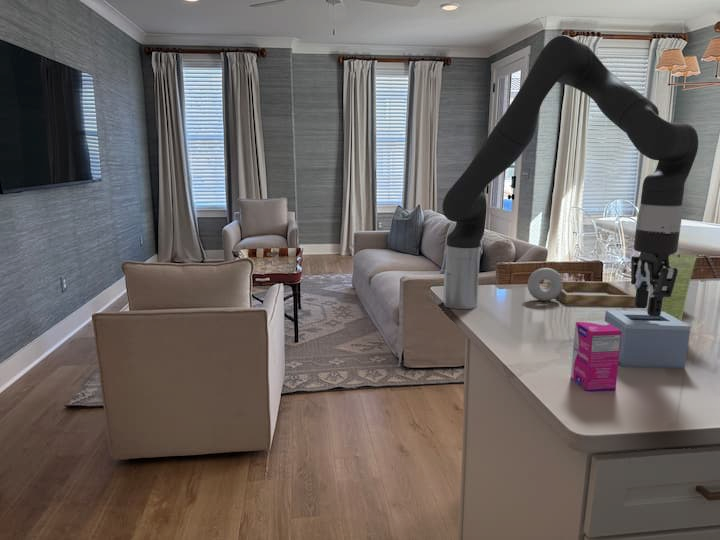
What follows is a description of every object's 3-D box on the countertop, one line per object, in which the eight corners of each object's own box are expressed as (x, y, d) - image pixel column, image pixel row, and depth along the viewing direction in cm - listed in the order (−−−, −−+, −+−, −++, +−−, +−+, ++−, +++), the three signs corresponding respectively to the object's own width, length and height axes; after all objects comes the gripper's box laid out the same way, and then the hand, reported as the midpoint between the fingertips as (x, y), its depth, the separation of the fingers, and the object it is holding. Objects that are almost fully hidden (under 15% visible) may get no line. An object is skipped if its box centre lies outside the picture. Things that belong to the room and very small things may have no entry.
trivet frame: (565, 304, 147) (566, 294, 146) (546, 289, 165) (547, 280, 164) (635, 306, 146) (636, 296, 145) (608, 291, 164) (609, 281, 163)
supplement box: (568, 379, 96) (574, 320, 93) (599, 378, 96) (605, 320, 94) (584, 393, 90) (591, 330, 88) (616, 392, 90) (624, 330, 88)
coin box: (621, 367, 101) (626, 324, 99) (601, 350, 111) (605, 310, 109) (684, 370, 101) (690, 326, 99) (658, 351, 110) (663, 311, 109)
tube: (664, 330, 125) (675, 251, 121) (685, 336, 121) (697, 254, 117) (649, 333, 123) (660, 252, 119) (670, 339, 118) (681, 256, 114)
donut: (559, 300, 152) (562, 267, 150) (562, 303, 149) (566, 269, 147) (525, 298, 153) (527, 266, 151) (527, 301, 150) (530, 268, 148)
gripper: (622, 223, 107) (613, 301, 111) (656, 232, 93) (644, 321, 97) (658, 224, 107) (648, 302, 111) (698, 233, 93) (685, 322, 96)
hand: (647, 311), depth 104 cm, fingers open, 5 cm apart
